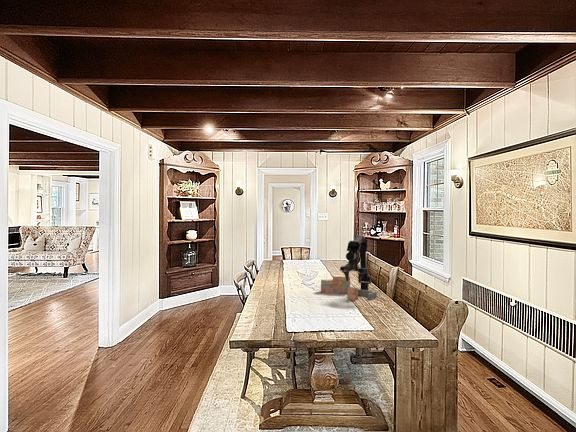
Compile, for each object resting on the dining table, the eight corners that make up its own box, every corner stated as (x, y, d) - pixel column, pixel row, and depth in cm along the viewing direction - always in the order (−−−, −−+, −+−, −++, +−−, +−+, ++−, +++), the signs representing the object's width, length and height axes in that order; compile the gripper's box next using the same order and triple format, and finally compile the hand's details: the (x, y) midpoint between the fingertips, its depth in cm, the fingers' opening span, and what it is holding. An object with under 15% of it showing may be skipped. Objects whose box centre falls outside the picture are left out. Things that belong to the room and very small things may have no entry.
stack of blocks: (320, 292, 336) (321, 276, 336) (320, 291, 342) (321, 274, 342) (350, 293, 335) (350, 276, 334) (349, 292, 341) (349, 275, 341)
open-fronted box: (355, 294, 332) (355, 288, 331) (376, 297, 321) (376, 291, 321) (347, 296, 323) (347, 290, 323) (368, 299, 312) (368, 294, 312)
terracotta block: (351, 298, 316) (351, 287, 316) (357, 299, 313) (357, 287, 312) (347, 299, 312) (347, 287, 312) (353, 300, 309) (354, 288, 309)
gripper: (335, 259, 312) (335, 281, 312) (359, 261, 300) (358, 285, 300) (344, 257, 320) (344, 280, 320) (368, 260, 308) (367, 283, 309)
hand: (353, 282), depth 312 cm, fingers open, 9 cm apart
